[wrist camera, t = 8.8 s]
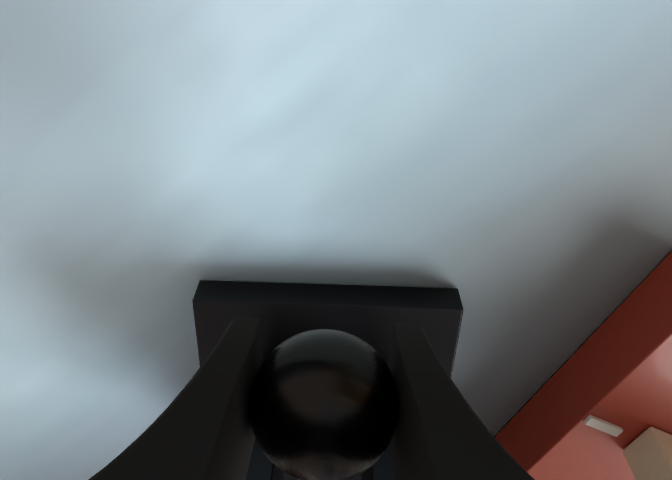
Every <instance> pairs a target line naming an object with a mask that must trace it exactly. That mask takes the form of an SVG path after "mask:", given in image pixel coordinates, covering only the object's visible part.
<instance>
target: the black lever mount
mask: <svg viewBox="0 0 672 480" xmlns="http://www.w3.org/2000/svg"><path fill="white" fill-rule="evenodd" d="M193 310H194V318H195V327H196V335H197V344H198V353H199V361H200V367H201V366H202V364H203V363H204V362H205V360H206V359H207V358H208V356H209V355H210V353H211V352H212V350H213V349H214V347H215V346H216V344H217V343H218V341H219V340H220V338H221V337H222V335H223V333H224V332H225V330H226V328H227V327H228V325H229V323H230V322H231V321H232V320H233V319H234V318H250V319H261V338H262V362H263V361H264V360H265V358H266V357H267V356H268V355H269V354H270V353H271V352H272V351H273V350H274V348H275V347H277V346H278V345H279V344H281V343H282V342H283V341H285V340H286V339H288V338H290V337H292V336H294V335H296V334H299V333H302V332H305V331H309V330H314V329H335V330H340V331H344V332H347V333H350V334H352V335H355V336H357V337H359V338H361V339H362V340H364V341H365V342H367V343H368V344H369V345H371V346H372V347H373V348H374V349H375V350H376V351H377V352H378V353H379V354H380V355H381V357H382V358H383V359H384V360H385V362H386V363H387V365H388V367H389V358H390V348H391V339H392V329H393V323H403V324H419V325H420V326H421V327H422V328H423V329H424V331H425V333H426V336H427V338H428V340H429V342H430V343H431V345H432V347H433V349H434V351H435V353H436V355H437V356H438V358H439V360H440V361H441V363H442V365H443V367H444V368H445V370H446V371H447V373H448V375H449V376H450V378H451V376H452V371H453V365H454V359H455V354H456V348H457V343H458V337H459V332H460V326H461V321H462V315H463V306H462V302H461V299H460V295H459V291H458V289H453V288H422V287H391V286H360V285H330V284H299V283H268V282H237V281H207V280H200V281H199V284H198V287H197V290H196V292H195V295H194V298H193ZM246 480H298V479H296V478H293V477H291V476H289V475H288V474H286V473H284V472H283V471H282V470H280V469H279V468H277V467H276V466H275V465H274V464H273V463H272V462H271V461H270V460H269V459H268V458H267V456H266V455H265V454H264V452H263V451H262V449H261V448H260V446H259V445H258V442H257V440H256V438H255V441H254V446H253V450H252V454H251V459H250V463H249V467H248V471H247V476H246ZM349 480H396V474H395V468H394V461H393V455H392V448H391V442H390V443H389V445H388V447H387V449H386V450H385V452H384V453H383V454H382V456H381V457H380V458H379V459H378V460H377V461H376V462H375V463H374V464H373V465H372V466H371V467H370V468H369V469H367V470H366V471H365V472H363V473H361V474H359V475H358V476H356V477H354V478H352V479H349Z"/></svg>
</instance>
